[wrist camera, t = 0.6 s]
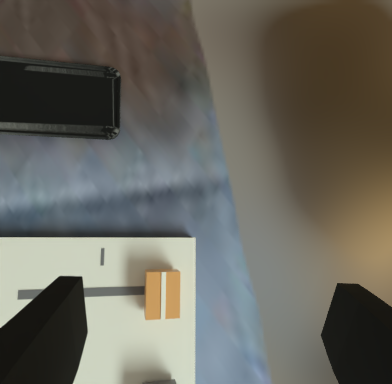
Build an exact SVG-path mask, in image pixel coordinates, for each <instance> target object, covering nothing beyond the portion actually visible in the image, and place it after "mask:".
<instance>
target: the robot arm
mask: <svg viewBox="0 0 392 384" xmlns="http://www.w3.org/2000/svg"><path fill="white" fill-rule="evenodd" d="M87 334H88V327H87V317H86V307H85V297H84V287H83V278H82V276H59V277H58V278H57V279H55V280H54V281H53V282H52V283H51V284H50V285H48V286H47V287H46V288H45V289H44V290H43V291H42V292H41V293H39V294H38V295H37V296H36V297H35V298H34V299H33V300H32V301H31V302H29V303H28V304H27V305H26V306H25V307H24V308H23V309H22V310H20V311H19V312H18V313H17V314H16V315H15V316H14V317H13V318H11V319H10V320H9V321H8V322H7V323H6V324H4V325H3V326H2V327H1V328H0V384H73V382H74V379H75V377H76V374H77V371H78V368H79V364H80V361H81V357H82V353H83V349H84V345H85V341H86V338H87ZM321 337H322V340H323V343H324V346H325V349H326V352H327V355H328V358H329V361H330V363H331V366H332V369H333V372H334V374H335V376H336V378H337V380H338V383H339V384H392V307H391V306H389V305H388V304H386V303H385V302H384V301H382V300H381V299H380V298H378V297H377V296H375V295H374V294H372V293H371V292H369V291H368V290H367V289H365V288H364V287H362V286H360V285H359V284H343V283H337V286H336V289H335V292H334V296H333V299H332V302H331V305H330V308H329V311H328V314H327V318H326V321H325V324H324V327H323V330H322V333H321Z"/></svg>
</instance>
